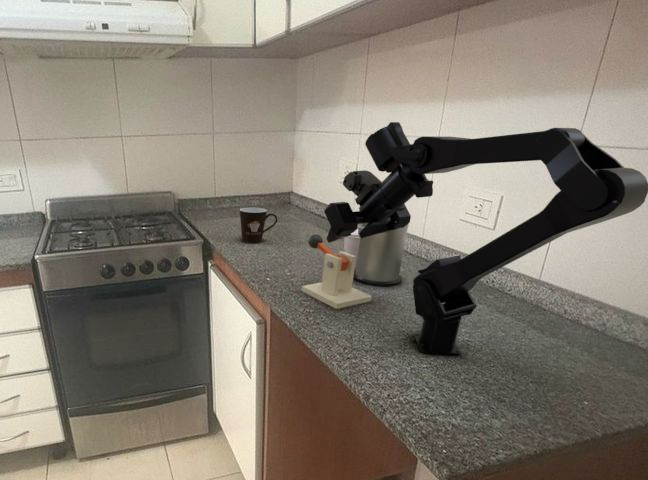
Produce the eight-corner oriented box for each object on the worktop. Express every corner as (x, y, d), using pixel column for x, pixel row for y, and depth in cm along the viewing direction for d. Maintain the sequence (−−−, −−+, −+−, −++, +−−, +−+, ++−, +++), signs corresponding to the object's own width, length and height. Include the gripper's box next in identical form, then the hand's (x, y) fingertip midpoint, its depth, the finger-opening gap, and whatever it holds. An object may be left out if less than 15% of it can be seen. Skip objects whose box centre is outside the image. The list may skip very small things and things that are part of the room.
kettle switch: (304, 244, 103) (308, 232, 101) (315, 243, 104) (319, 231, 102) (335, 273, 95) (340, 261, 93) (346, 271, 97) (351, 259, 95)
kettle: (372, 293, 102) (383, 222, 95) (335, 278, 111) (343, 212, 105) (416, 281, 110) (430, 215, 103) (379, 268, 119) (389, 207, 112)
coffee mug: (235, 242, 142) (236, 211, 138) (243, 236, 149) (244, 206, 145) (270, 246, 138) (272, 214, 134) (276, 240, 146) (278, 209, 142)
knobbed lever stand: (301, 292, 102) (304, 250, 98) (334, 285, 106) (339, 245, 102) (336, 310, 92) (342, 265, 88) (371, 302, 97) (378, 259, 93)
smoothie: (334, 264, 122) (340, 213, 116) (354, 262, 124) (361, 212, 118) (348, 271, 116) (355, 218, 111) (368, 269, 119) (376, 217, 113)
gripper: (409, 155, 87) (361, 203, 100) (336, 158, 78) (294, 210, 92) (435, 202, 83) (382, 246, 97) (362, 210, 75) (315, 256, 88)
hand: (344, 238), depth 93 cm, fingers open, 9 cm apart
